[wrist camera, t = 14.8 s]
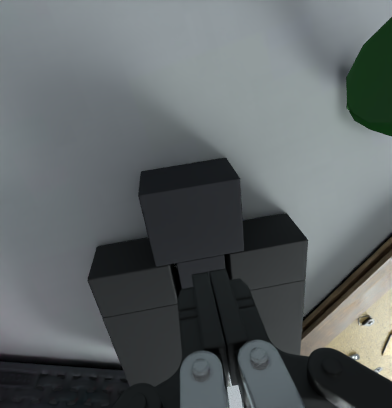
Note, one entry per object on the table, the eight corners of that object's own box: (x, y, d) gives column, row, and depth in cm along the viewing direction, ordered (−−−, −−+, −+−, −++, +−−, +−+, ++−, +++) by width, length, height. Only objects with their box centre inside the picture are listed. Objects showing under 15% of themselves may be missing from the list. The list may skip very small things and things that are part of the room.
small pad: (162, 267, 23) (164, 301, 20) (140, 171, 19) (138, 195, 16) (234, 254, 23) (246, 286, 20) (226, 157, 19) (240, 178, 16)
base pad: (134, 352, 27) (131, 391, 24) (96, 246, 21) (86, 280, 18) (284, 323, 28) (300, 357, 24) (286, 212, 22) (308, 239, 19)
